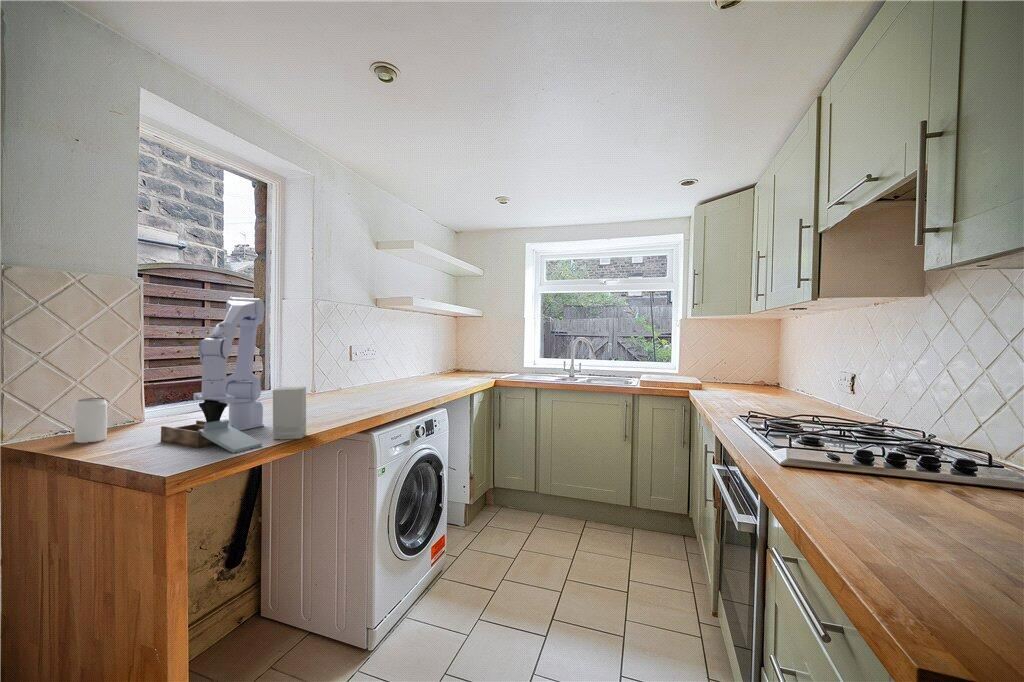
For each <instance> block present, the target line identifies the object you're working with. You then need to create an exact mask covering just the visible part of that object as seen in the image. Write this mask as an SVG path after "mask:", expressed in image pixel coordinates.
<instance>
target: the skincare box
mask: <svg viewBox="0 0 1024 682" xmlns="http://www.w3.org/2000/svg"><path fill="white" fill-rule="evenodd" d="M305 435H307V386H280V387H276V388H275V389H273V390H272V440H273V439H280V440H299V439H303V438H304V437H305Z"/></svg>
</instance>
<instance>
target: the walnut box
mask: <svg viewBox="0 0 1024 682" xmlns="http://www.w3.org/2000/svg"><path fill="white" fill-rule="evenodd" d="M195 422H196V423H192V424H186V425H183V426H182V425H181V426H175V427H170V426H166V425H161V426H160V442H162V443H167V444H173V445H177V446H178V445H179V446H184V447H189V448H195V449H201V448H204V447H205V448H206V447H209V446H213V445H217V444H216V443H214V442H212V441H211V440H209V439H207V438H205V437H204V436H202V435H200V432H198V430H201V429H204V426H205V423H207V422H206V420H198V419H197V420H196V421H195ZM230 426H232V427H234V426H233V425H230Z"/></svg>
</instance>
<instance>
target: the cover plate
mask: <svg viewBox="0 0 1024 682" xmlns="http://www.w3.org/2000/svg"><path fill="white" fill-rule="evenodd" d="M198 432H200V435H202V436H204V437H205V438H207V439H209V440H211V441H212V442H214V443H216V444H215V445H218V446H220V447H221V448H224V450H226V451H229V452H230V453H232V452H233V453H232V454H235V453H234V452H237V453H240V452H239V451H241V452H244V451H243V450H245V451H248V450H247V449H249V450H251V449H250V448H253V449H255V448H254V447H257V448H259V447H258V446H261V445H262V446H263V442H261V441H259V440H258V439H255V437H252V436H250V435H248V434H246V433H245V432H243V431H242V430H240V431H239V430H237V429H235V428H234V427H232V426H230V425H229V419H220V420H219V421H214V422H208V423H205V426H204V429H201V430H198ZM262 446H261V447H262Z"/></svg>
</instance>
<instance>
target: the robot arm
mask: <svg viewBox="0 0 1024 682" xmlns="http://www.w3.org/2000/svg"><path fill="white" fill-rule="evenodd" d="M265 308H266V307H265V303H264V300H263V299H262V298H259V297H258V298H250V297H234V296H230V297H228V299H227V300H226V303H225V309H226V312H227V313H226V315H225V318H224V320H223V321H220V322H218V323H217V324H216V325H215V327H214V328H213V329H212V331H211V333H210V334H209V335H208V337H206V338H204V339H201V340H200V341H199V344H198V347H197V353H198V355H199V362H200V364H202V365H201V367H202V369H201V370H202V371H201V392H194V393H193V400H194V401H197V400H199V401H203V402H200V403H198V407H199V408H200V409H201V412H202V413H203V414H204V419H205V421H206V422H207V423H208V422H214V421H219V420H221V418H222V415H223V413H224V411H225V409H226V408H227V407H228V420H229V424H228V425H233V426H234V428H235V429H237V430H239V431H245V430H248V429H249V430H250V429H255V428H259V427H264V426H265V424H264V423H263V420H264V419H263V417H264V407H263V404H262V402H261V401H260V400H258V399H259V398H260V397H261V393H262V386H261V382H262V381H261V378H260V377H259V376H258V375H256V374H255V373H253V369H254V368H253V367H254V358H255V351H256V350H255V349H256V340H257V332H258V326H260V325H261V324H263V322H264V319H265V318H264V317H265V316H264V315H265V311H266V309H265ZM238 325H239V327H240V328H239V336H238V345H237V354H236V355H237V356H236V363H235V371H234V372H233V373H232V374H230V375H229V376H227V371H228V370H227V367H228V362H227V361H228V358H229V357H230V356H231V353H232V348H233V341H234V339H235V338H236V336H237V334H238V328H237V327H238Z"/></svg>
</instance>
